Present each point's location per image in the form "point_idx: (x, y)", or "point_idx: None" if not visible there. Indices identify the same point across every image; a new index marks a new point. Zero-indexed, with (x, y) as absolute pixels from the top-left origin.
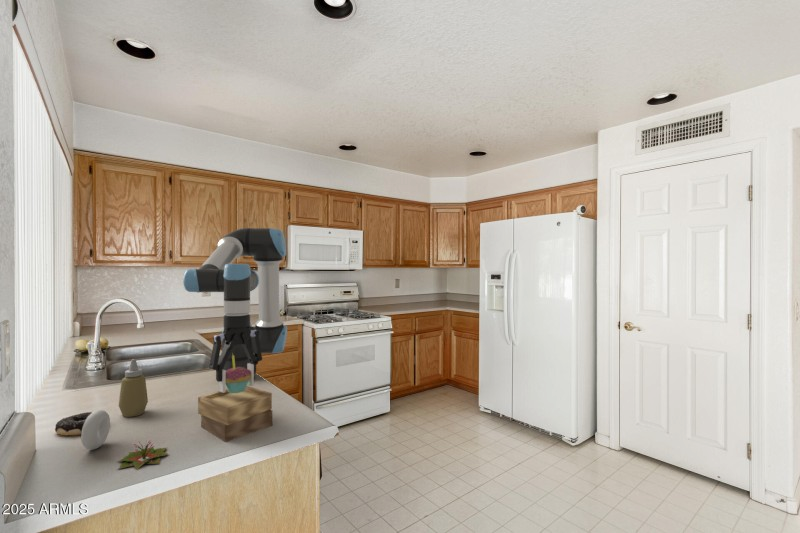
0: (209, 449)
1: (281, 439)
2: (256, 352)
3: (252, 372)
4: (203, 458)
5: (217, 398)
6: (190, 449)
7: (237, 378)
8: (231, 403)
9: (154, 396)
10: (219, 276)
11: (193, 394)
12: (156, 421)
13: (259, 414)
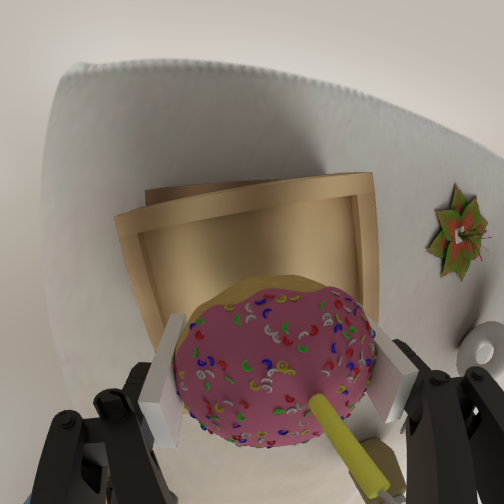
0: (373, 165)
1: (197, 72)
2: (80, 489)
3: (162, 361)
4: (397, 130)
5: None
6: (401, 203)
7: (328, 288)
8: (311, 253)
9: (298, 492)
10: None
11: (241, 482)
12: (364, 406)
13: (203, 185)
